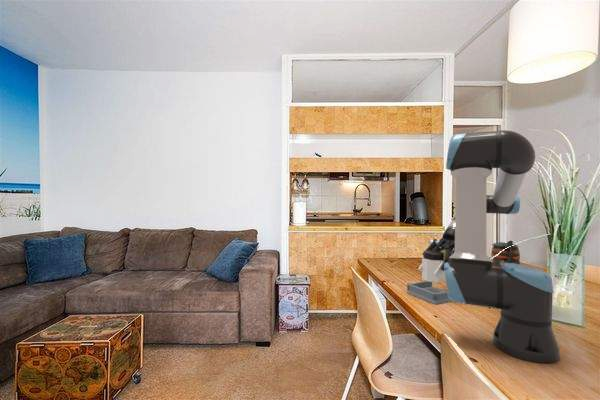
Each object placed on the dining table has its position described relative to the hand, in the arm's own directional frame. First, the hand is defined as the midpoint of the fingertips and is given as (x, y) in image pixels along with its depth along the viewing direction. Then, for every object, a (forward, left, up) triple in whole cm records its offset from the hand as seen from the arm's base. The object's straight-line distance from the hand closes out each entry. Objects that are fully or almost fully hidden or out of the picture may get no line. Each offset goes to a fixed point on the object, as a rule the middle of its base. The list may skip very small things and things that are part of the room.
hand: (428, 272), depth 129 cm
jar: (0, -3, -4) cm, 5 cm away
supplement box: (+29, -41, -10) cm, 51 cm away
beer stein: (+6, -65, -10) cm, 66 cm away
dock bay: (0, -3, -10) cm, 11 cm away
